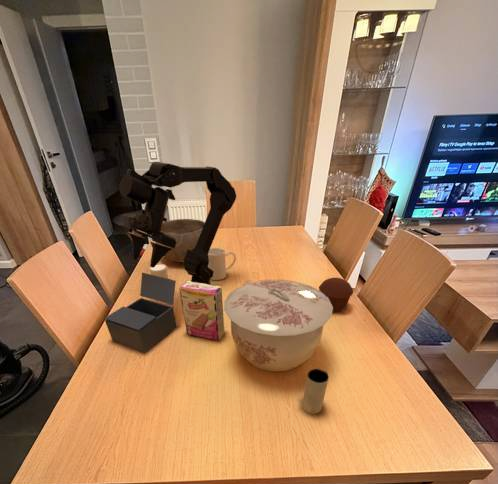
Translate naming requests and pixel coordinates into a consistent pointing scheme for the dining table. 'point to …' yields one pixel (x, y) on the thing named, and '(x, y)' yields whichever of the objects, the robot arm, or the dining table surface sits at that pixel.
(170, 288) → the flap
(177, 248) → the bowl
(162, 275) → the shot glass
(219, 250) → the mug
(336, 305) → the muffin
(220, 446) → the dining table surface
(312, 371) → the grey black-topped cylinder
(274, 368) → the chamber pot
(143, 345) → the carton
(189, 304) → the candy bar box
